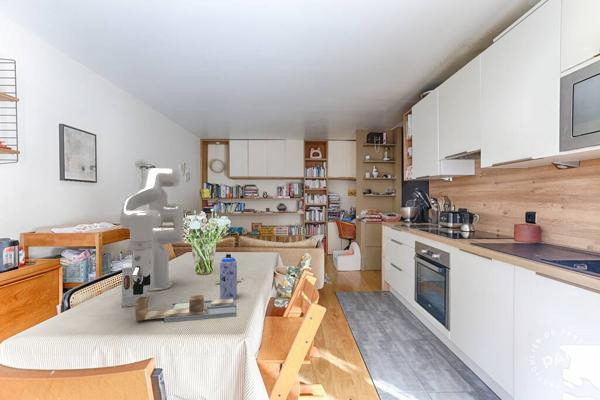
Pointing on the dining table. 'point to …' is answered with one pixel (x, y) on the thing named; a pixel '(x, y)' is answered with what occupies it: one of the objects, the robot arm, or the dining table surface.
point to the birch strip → (143, 313)
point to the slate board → (211, 313)
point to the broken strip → (221, 302)
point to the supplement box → (129, 287)
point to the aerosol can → (228, 277)
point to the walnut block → (196, 303)
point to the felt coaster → (181, 306)
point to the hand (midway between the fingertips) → (142, 289)
